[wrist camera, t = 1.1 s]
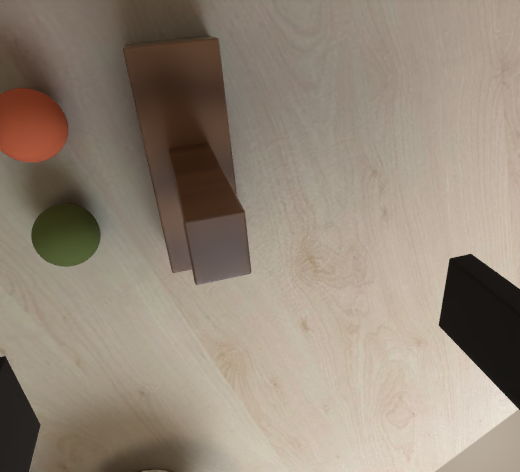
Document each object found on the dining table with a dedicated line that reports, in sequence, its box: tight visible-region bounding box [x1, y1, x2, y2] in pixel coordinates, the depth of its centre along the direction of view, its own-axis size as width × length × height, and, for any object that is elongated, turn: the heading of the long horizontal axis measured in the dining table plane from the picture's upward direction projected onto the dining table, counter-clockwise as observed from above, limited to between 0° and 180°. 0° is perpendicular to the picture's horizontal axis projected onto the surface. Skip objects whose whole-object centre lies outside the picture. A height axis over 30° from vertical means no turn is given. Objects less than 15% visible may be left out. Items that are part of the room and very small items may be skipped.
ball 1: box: [0, 88, 68, 162], centre depth 23 cm, size 4×4×4 cm
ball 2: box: [32, 204, 100, 266], centre depth 27 cm, size 4×4×4 cm
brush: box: [123, 35, 251, 285], centre depth 22 cm, size 14×5×14 cm, turn 4°
